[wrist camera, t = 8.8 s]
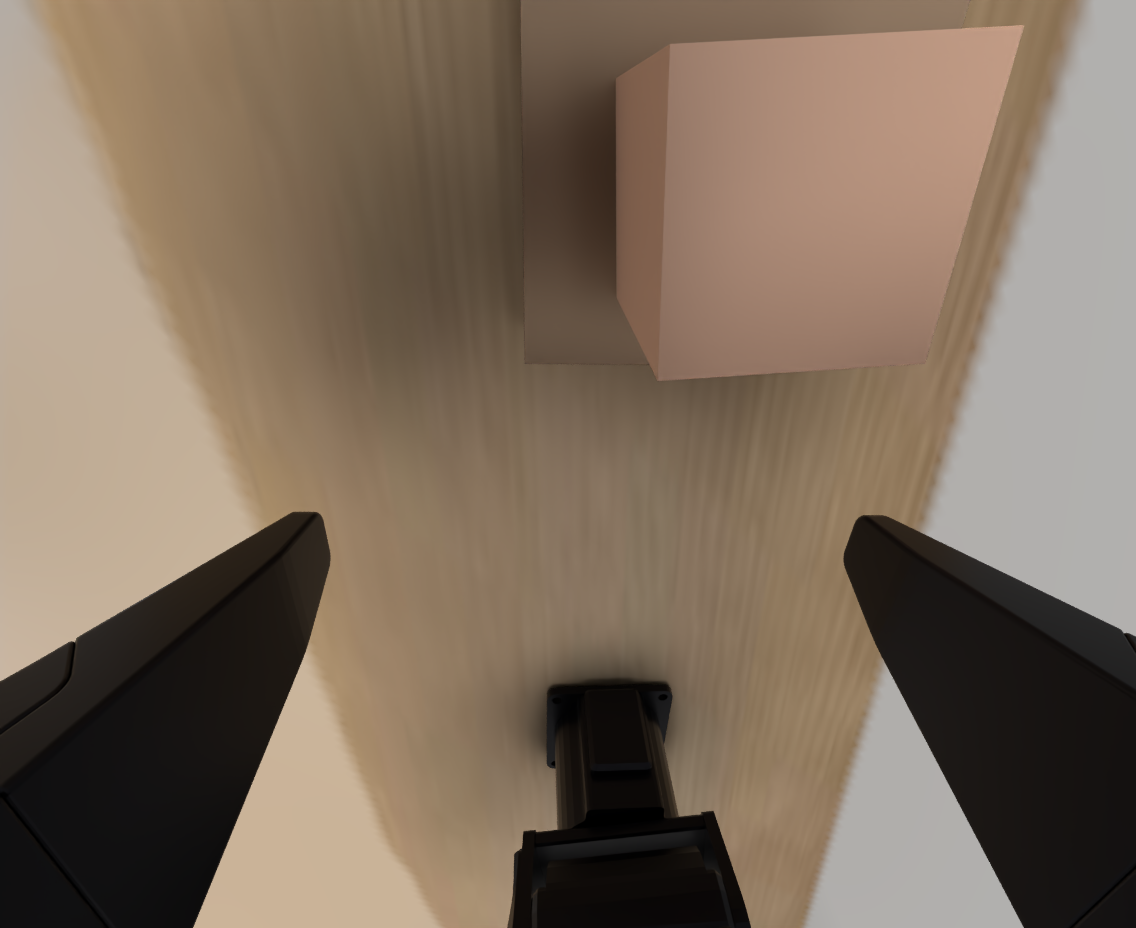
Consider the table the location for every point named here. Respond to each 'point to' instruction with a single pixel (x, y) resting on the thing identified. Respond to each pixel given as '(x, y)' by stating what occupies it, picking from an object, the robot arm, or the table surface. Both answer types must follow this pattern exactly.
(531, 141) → the block
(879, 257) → the terracotta block
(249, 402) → the table surface
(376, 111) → the table surface
